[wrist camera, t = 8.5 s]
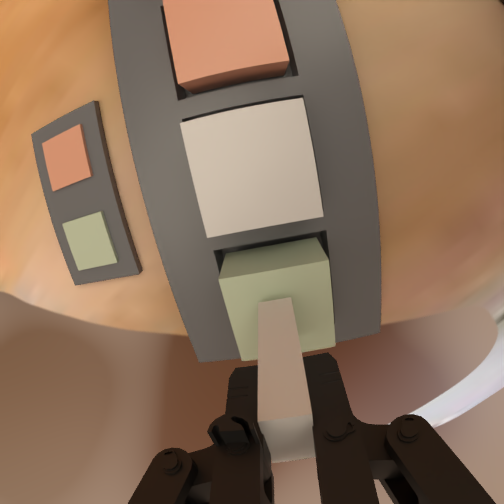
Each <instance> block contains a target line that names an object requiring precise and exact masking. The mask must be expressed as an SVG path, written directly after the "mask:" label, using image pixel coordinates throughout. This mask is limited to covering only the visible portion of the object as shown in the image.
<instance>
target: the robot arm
mask: <svg viewBox="0 0 504 504" xmlns="http://www.w3.org/2000/svg"><path fill="white" fill-rule="evenodd" d="M501 1H502V2H503V3H504V0H501ZM227 397H228V399H227V404H226V412H225V415H222V416H221V417H219V418H217V419H215V420H214V421H213V422H212V424H211V425H210V426H209V429H208V431H207V432H208V434H209V436H210V437H211V439H212V441H213V443H214V444H213V445H212V446H210V447H208V448H205V449H202V450H198V451H195V452H191V453H187V452H186V451H184V450H182V449H180V448H169V449H165V450H163V451H161V452H159V453H158V454H157V455H156V456H155V458H154V459H153V460H152V462H151V464H150V466H149V467H148V469H147V471H146V473H145V475H144V476H143V478H142V480H141V481H140V483H139V485H138V487H137V488H136V490H135V492H134V494H133V496H132V497H131V499H130V500H129V502H128V504H274V477H273V474H272V470H271V460H272V463H277V462H286V461H293V460H301V459H307V458H313V457H316V463H317V473H318V480H319V488H320V496H321V504H379V500H378V497H377V492H376V488H375V484H374V480H373V479H379V481H380V482H381V484H382V485H383V487H384V489H385V490H386V492H387V493H388V495H389V497H390V498H391V500H392V502H393V503H394V504H496V503H495V502H494V501H493V499H492V498H491V497H490V496H489V495H488V493H487V492H486V491H485V490H484V488H483V487H482V486H481V485H480V484H479V482H478V481H477V480H476V479H475V478H474V476H473V475H472V474H471V473H470V471H469V470H468V469H467V468H466V467H465V466H464V464H463V463H462V462H461V461H460V459H459V458H458V457H457V456H456V455H455V454H454V452H453V451H452V450H451V449H450V448H449V447H448V445H447V444H446V443H445V442H444V440H443V439H442V438H441V437H440V436H439V435H438V434H437V432H436V431H435V430H434V429H433V428H432V426H431V425H430V424H429V423H428V422H427V421H426V420H425V419H424V418H422V417H421V416H417V415H414V414H409V415H403V416H400V417H398V418H396V419H395V420H394V421H392V422H391V423H390V425H373V424H366V423H364V422H361V421H360V420H358V419H357V418H356V417H355V416H354V415H353V413H352V411H351V408H350V405H349V401H348V398H347V394H346V391H345V388H344V384H343V381H342V378H341V374H340V372H339V368H338V365H337V361H336V360H335V359H334V358H333V357H332V356H331V355H330V354H329V353H323V354H318V355H313V356H307V357H302V352H301V347H300V341H299V336H298V331H297V325H296V320H295V315H294V310H293V305H292V300H291V297H288V298H283V299H277V300H271V301H265V302H259V303H258V365H256V366H248V367H240V368H235V370H234V371H233V373H232V374H231V376H230V378H229V386H228V394H227Z"/></svg>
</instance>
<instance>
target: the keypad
mask: <svg viewBox="0 0 504 504" xmlns="http://www.w3.org/2000/svg"><path fill="white" fill-rule="evenodd" d="M273 2H274V5H275V8H276V12H277V15H278V19H279V22H280V26H281V30H282V33H283V37H284V41H285V45H286V48H287V52H288V56H289V60H290V61H289V63H288V66H287V69H286V71H285V74H284V76H277V77H271V78H265V79H259V80H254V81H248V82H243V83H238V84H233V85H229V86H224V87H220V88H216V89H212V90H208V91H204V92H200V93H196V94H192V93H191V92H189V91H188V90H186V89H185V88H183V87H182V86H180V85H179V84H178V81H177V76H176V71H175V66H174V61H173V55H172V50H171V45H170V40H169V34H168V29H167V23H166V17H165V12H164V6H163V0H108V5H109V17H110V27H111V36H112V44H113V52H114V59H115V66H116V73H117V79H118V85H119V91H120V97H121V102H122V108H123V113H124V118H125V123H126V128H127V133H128V137H129V142H130V146H131V151H132V155H133V159H134V163H135V168H136V172H137V176H138V180H139V184H140V187H141V191H142V195H143V199H144V202H145V206H146V210H147V213H148V217H149V220H150V224H151V227H152V230H153V234H154V237H155V240H156V244H157V247H158V250H159V253H160V256H161V259H162V263H163V266H164V269H165V272H166V275H167V278H168V281H169V284H170V286H171V289H172V292H173V295H174V298H175V301H176V303H177V306H178V309H179V312H180V314H181V317H182V320H183V322H184V325H185V328H186V330H187V333H188V336H189V338H190V341H191V343H192V346H193V348H194V351H195V353H196V356H197V358H198V360H199V362H211V361H221V360H230V359H239V358H241V356H240V352H239V349H238V346H237V343H236V339H235V336H234V332H233V329H232V326H231V322H230V319H229V315H228V312H227V308H226V305H225V301H224V298H223V294H222V291H221V287H220V284H219V280H218V279H219V275H220V272H221V268H222V265H223V261H224V258H225V255H226V253H231V252H237V251H242V250H248V249H253V248H259V247H264V246H270V245H275V244H281V243H286V242H292V241H297V240H303V239H309V238H314V237H316V238H317V239H318V241H319V243H320V245H321V247H322V248H323V250H324V252H325V254H326V256H327V258H328V259H329V267H330V277H331V288H332V300H333V313H334V327H335V343H336V342H342V341H346V340H351V339H355V338H360V337H364V336H368V335H372V334H377V333H380V323H381V246H380V226H379V212H378V200H377V189H376V180H375V171H374V163H373V156H372V149H371V142H370V136H369V130H368V124H367V118H366V113H365V108H364V103H363V98H362V93H361V88H360V84H359V79H358V75H357V71H356V67H355V63H354V59H353V55H352V51H351V48H350V44H349V41H348V37H347V34H346V30H345V27H344V24H343V21H342V18H341V14H340V11H339V8H338V5H337V3H336V0H273ZM298 98H303V101H304V106H305V110H306V115H307V120H308V125H309V130H310V136H311V141H312V147H313V152H314V158H315V164H316V170H317V176H318V182H319V188H320V195H321V202H322V209H323V216H324V217H318V218H313V219H307V220H301V221H296V222H290V223H285V224H279V225H273V226H268V227H263V228H257V229H252V230H246V231H241V232H236V233H231V234H225V235H220V236H215V237H210V238H207V235H206V231H205V227H204V224H203V220H202V216H201V212H200V208H199V204H198V200H197V196H196V191H195V187H194V183H193V179H192V175H191V171H190V166H189V162H188V158H187V153H186V149H185V144H184V140H183V136H182V131H181V126H180V123H182V122H186V121H189V120H193V119H197V118H201V117H205V116H209V115H213V114H217V113H222V112H226V111H230V110H235V109H240V108H245V107H250V106H255V105H260V104H266V103H272V102H278V101H284V100H291V99H298Z"/></svg>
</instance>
